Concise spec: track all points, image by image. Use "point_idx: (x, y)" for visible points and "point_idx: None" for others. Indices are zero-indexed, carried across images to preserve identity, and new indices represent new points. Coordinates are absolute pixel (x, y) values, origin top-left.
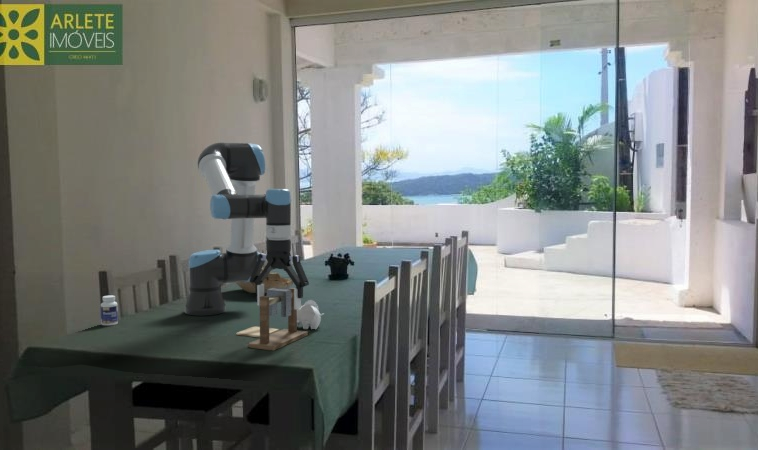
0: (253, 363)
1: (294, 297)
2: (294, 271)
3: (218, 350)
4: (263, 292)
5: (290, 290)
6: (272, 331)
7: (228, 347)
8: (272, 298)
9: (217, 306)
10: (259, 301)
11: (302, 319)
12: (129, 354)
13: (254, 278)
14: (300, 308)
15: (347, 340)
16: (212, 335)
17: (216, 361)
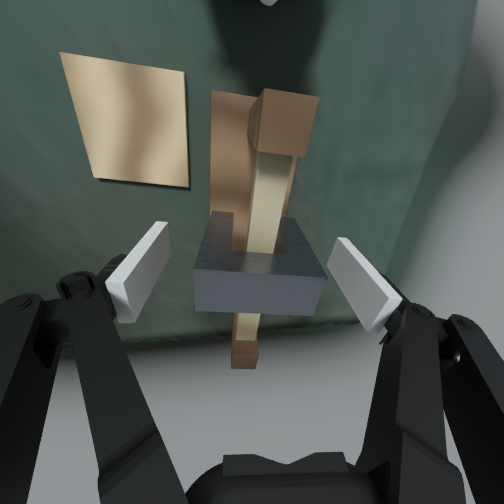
0: (269, 325)
1: (346, 297)
2: (439, 415)
3: (171, 294)
4: (147, 258)
5: (324, 281)
6: (182, 120)
7: (174, 275)
8: (254, 316)
9: None
10: (164, 263)
11: (269, 3)
12: (63, 343)
13: (56, 354)
14: None
15: (435, 131)
16: (48, 204)
17: (212, 332)
